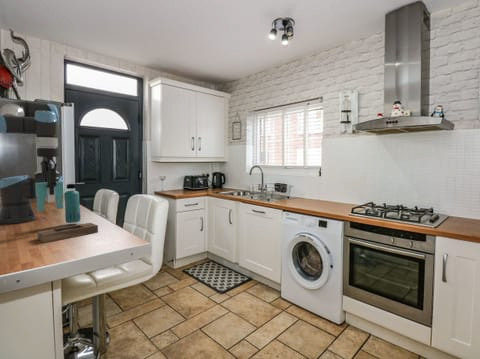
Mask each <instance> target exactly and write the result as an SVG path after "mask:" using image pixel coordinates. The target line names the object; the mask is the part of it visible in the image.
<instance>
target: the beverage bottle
mask: <svg viewBox="0 0 480 359" xmlns="http://www.w3.org/2000/svg"><path fill="white" fill-rule="evenodd" d="M65 188H66V189H67V190H66V191H65V192H63V198H64V212H65V213H64V216H65V223H67V224H72V223H79V222H80V221H81V207H80V206H81V205H80V204H81V203H80V192H79V191H77V190H74V189H77V184H76V183H67V184H66V187H65ZM70 189H71V190H70ZM72 189H73V190H72Z"/></svg>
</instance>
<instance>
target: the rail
mask: <svg viewBox="0 0 480 359" xmlns="http://www.w3.org/2000/svg"><path fill="white" fill-rule="evenodd" d="M36 233H37V240H39V241H40V242H42V243H43V244H45V243H46V244H47V243H49V242H55V241H60V240H64V239H71V238H76V237H82V236H86V235H90V234H96V233H99V225H98V224H96V223H95V224H94V223H93V222H87V223H80V224H75V225H70V226H69V225H68V226H63V227H56V228H50V229H46V230H45V229H44V230H39V231H37V232H36Z"/></svg>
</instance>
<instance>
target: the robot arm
mask: <svg viewBox="0 0 480 359" xmlns="http://www.w3.org/2000/svg"><path fill="white" fill-rule="evenodd" d="M59 125H60V116H59V112H58V108H57V106H56V105H55V104H53V103H48V102H47V103H46V102H37V101H36V102H33V101H25V100H16V101H10V102H8V103H7V102H6V103H5V104H3V105H2V107H1V108H0V134H18V135H20V134H21V135H22V134H24V135H35V137H34V138H35V139H34V142H35V152H36V153H35V155H36V168H37V169H36V171H35V173H34V175H33V177H30V175H28V174H25V175H15V176H9V177H4V178H2V179H0V202H1V203H0V204H1V207H0V208H1V209H0V224H1V225H3V224H4V225H5V224H6V225H7V224H8V225H9V224H10V225H11V224H18V223H19V224H20V223H27V222H31V221H34V220H36V217H37V216H36V213H35V211H34V209H33V207H32V203H31V200H37V197H36V188H35V183H43V182H47V184H48V186H46V188H47V197H44V202H47V203H48V204H49V203H56V196H55V186H56V185H57V184H56V182H59V181H61V182H63V183H64V176H61V174H60V172H59V171H58V170H57V165H58V164H57V159H56V158H57V157H59V149H58V147H59V143H58V142H59V140H58V126H59Z"/></svg>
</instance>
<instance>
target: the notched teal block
mask: <svg viewBox="0 0 480 359" xmlns="http://www.w3.org/2000/svg"><path fill="white" fill-rule="evenodd" d="M56 184H57V185H56V186H55V196H56V198H55V201H56V202H55V203H56V204H55V205H56V206H55V207H56V209H57V210H61V209H64V199H63V198H64V181H63V182H61V181H59V182H56ZM46 186H48V184H47V182H43V183H35V188H36V197H37V199H36V204H37V205H36V206H37V207H36V208H37V212H43V211H44V212H45V199H44V197H47V188H46Z"/></svg>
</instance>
